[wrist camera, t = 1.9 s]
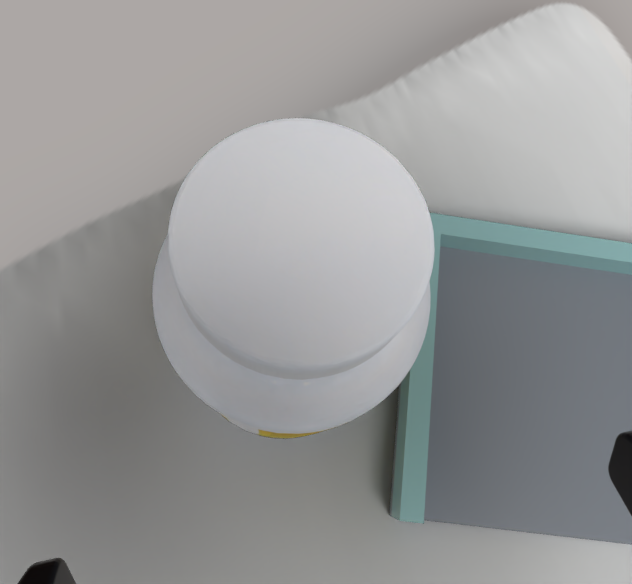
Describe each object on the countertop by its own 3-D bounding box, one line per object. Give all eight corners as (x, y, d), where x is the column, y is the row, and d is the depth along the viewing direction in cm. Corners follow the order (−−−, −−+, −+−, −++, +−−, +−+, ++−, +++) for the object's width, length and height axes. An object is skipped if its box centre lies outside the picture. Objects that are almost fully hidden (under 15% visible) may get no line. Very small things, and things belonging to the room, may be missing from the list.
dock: (686, 550, 20) (719, 558, 19) (389, 515, 19) (399, 520, 18) (668, 265, 23) (695, 253, 22) (411, 226, 22) (421, 211, 21)
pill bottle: (402, 350, 21) (562, 242, 10) (280, 479, 19) (309, 521, 8) (282, 234, 22) (306, 13, 11) (156, 347, 20) (27, 226, 9)
